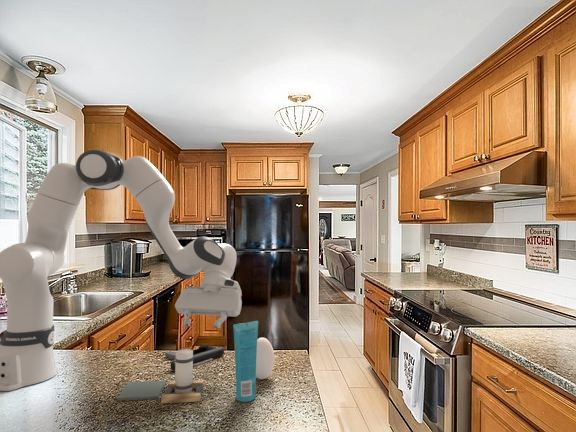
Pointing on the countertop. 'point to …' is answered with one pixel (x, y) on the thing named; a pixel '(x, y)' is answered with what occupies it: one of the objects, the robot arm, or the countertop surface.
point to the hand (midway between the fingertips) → (201, 326)
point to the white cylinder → (183, 371)
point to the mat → (142, 390)
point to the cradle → (185, 397)
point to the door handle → (199, 355)
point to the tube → (245, 359)
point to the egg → (264, 358)
